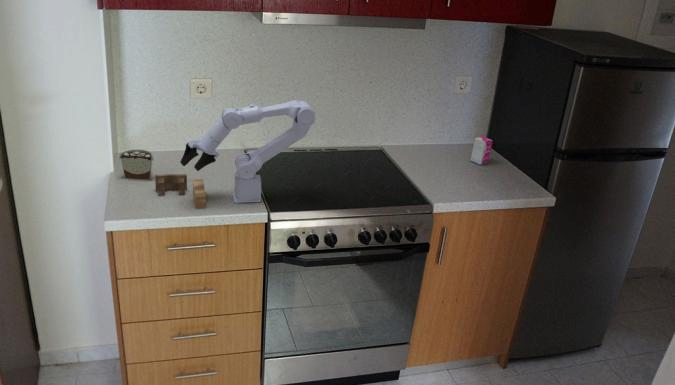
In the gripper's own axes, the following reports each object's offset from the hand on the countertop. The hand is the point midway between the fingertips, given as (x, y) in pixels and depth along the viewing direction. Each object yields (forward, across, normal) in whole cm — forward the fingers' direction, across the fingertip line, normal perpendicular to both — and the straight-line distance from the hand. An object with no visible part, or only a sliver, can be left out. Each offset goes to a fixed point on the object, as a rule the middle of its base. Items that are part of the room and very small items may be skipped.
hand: (189, 166), depth 207 cm
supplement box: (-71, -104, +41) cm, 132 cm away
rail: (+8, -9, +6) cm, 14 cm away
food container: (+21, -8, -21) cm, 31 cm away
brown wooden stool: (+14, -6, -3) cm, 15 cm away
